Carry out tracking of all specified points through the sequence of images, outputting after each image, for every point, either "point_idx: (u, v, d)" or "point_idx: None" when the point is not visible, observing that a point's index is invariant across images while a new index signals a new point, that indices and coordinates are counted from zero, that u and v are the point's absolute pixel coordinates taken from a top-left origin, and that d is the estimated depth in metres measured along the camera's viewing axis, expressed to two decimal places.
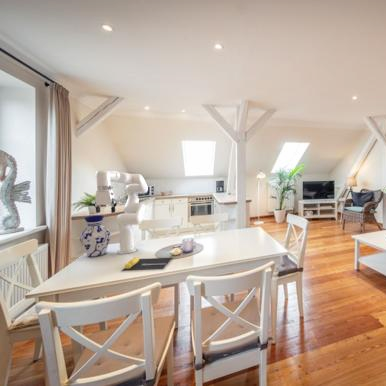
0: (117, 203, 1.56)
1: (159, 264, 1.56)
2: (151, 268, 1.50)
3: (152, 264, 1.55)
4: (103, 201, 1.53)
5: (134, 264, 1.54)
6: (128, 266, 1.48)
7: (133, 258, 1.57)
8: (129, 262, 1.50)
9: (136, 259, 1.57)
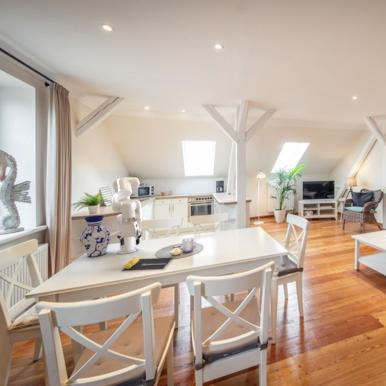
0: (141, 235, 1.53)
1: (159, 264, 1.56)
2: (151, 268, 1.50)
3: (152, 264, 1.55)
4: (127, 233, 1.50)
5: (134, 264, 1.54)
6: (128, 266, 1.48)
7: (133, 258, 1.57)
8: (129, 262, 1.50)
9: (136, 259, 1.57)
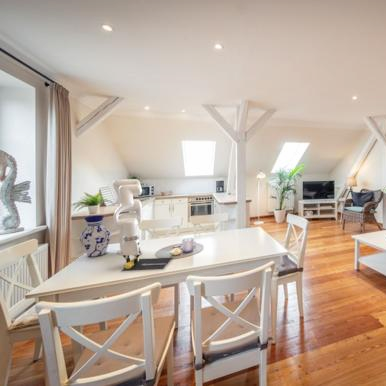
0: None
1: (159, 264, 1.56)
2: (151, 268, 1.50)
3: (152, 264, 1.55)
4: (129, 252, 1.51)
5: None
6: (128, 266, 1.48)
7: (133, 258, 1.57)
8: (129, 262, 1.50)
9: None
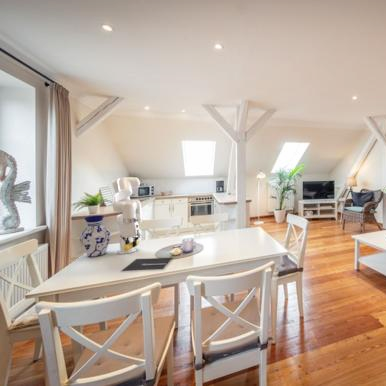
0: (138, 238, 1.53)
1: (159, 264, 1.56)
2: (151, 268, 1.50)
3: (152, 264, 1.55)
4: (128, 234, 1.50)
5: None
6: (126, 248, 1.46)
7: (132, 241, 1.56)
8: (127, 244, 1.49)
9: None
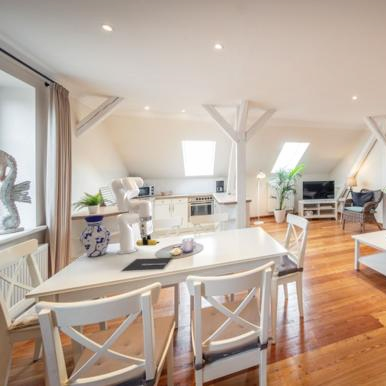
0: (142, 238, 1.52)
1: (159, 264, 1.56)
2: (151, 268, 1.50)
3: (152, 264, 1.55)
4: None
5: None
6: (136, 243, 1.57)
7: None
8: (140, 240, 1.57)
9: (149, 241, 1.57)
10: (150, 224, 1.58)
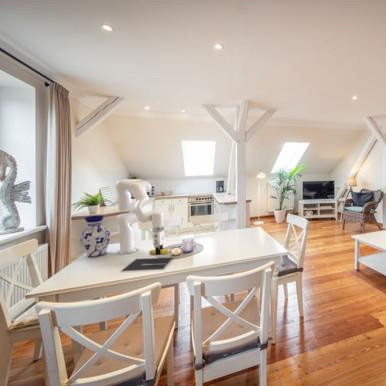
0: (156, 248, 1.57)
1: (159, 264, 1.56)
2: (151, 268, 1.50)
3: (152, 264, 1.55)
4: None
5: None
6: (149, 252, 1.62)
7: (164, 249, 1.64)
8: (153, 250, 1.62)
9: (162, 251, 1.62)
10: (162, 234, 1.63)
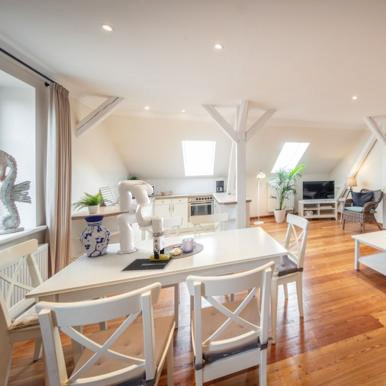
0: (154, 251, 1.55)
1: (159, 264, 1.56)
2: (151, 268, 1.50)
3: (152, 264, 1.55)
4: None
5: (157, 260, 1.62)
6: (149, 258, 1.62)
7: None
8: (153, 255, 1.62)
9: (162, 257, 1.62)
10: (163, 239, 1.63)
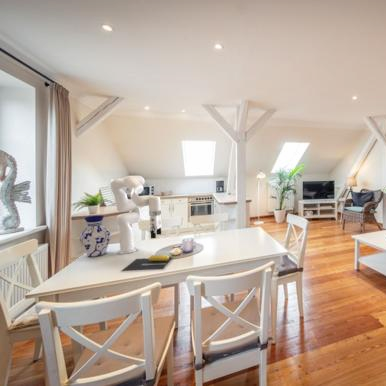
0: (151, 230, 1.55)
1: (159, 264, 1.56)
2: (151, 268, 1.50)
3: (152, 264, 1.55)
4: None
5: None
6: None
7: (163, 255, 1.62)
8: (152, 257, 1.60)
9: (161, 259, 1.61)
10: (159, 218, 1.63)
